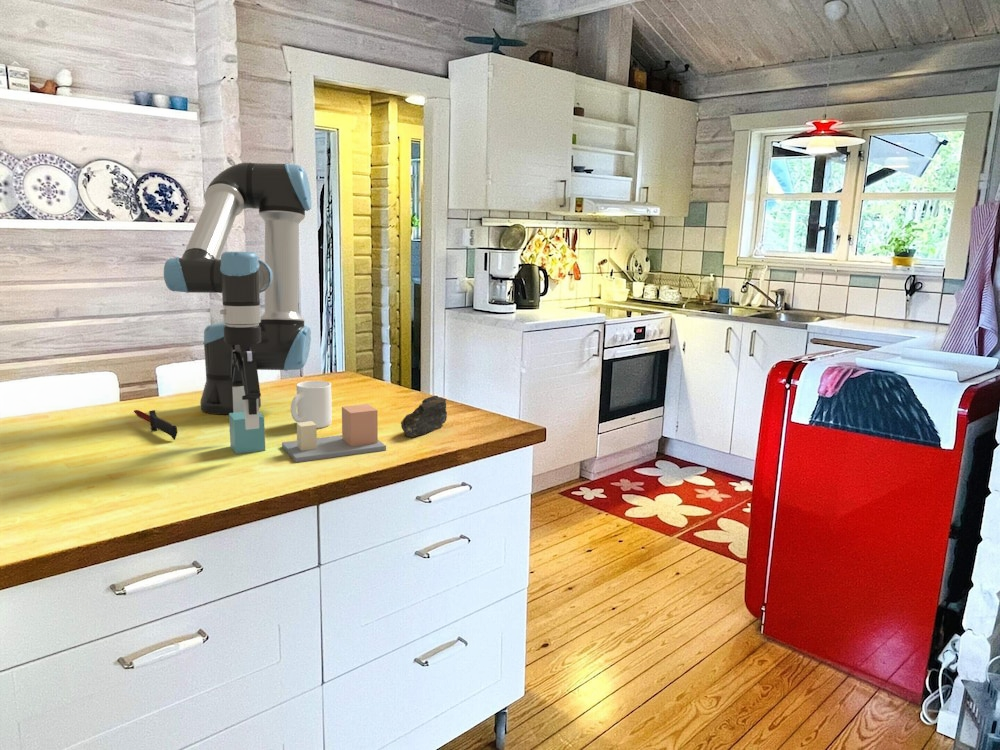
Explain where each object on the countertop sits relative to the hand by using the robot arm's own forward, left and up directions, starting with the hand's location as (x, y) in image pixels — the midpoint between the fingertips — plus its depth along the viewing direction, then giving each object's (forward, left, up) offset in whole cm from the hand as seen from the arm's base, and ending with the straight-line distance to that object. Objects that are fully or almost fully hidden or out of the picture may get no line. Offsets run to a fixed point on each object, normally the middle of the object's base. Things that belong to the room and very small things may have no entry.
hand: (246, 421), depth 156 cm
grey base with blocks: (+8, +17, -6) cm, 20 cm away
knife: (-23, -17, -7) cm, 29 cm away
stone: (+3, +41, -7) cm, 42 cm away
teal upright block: (0, 0, -6) cm, 6 cm away
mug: (-12, +17, -7) cm, 22 cm away
